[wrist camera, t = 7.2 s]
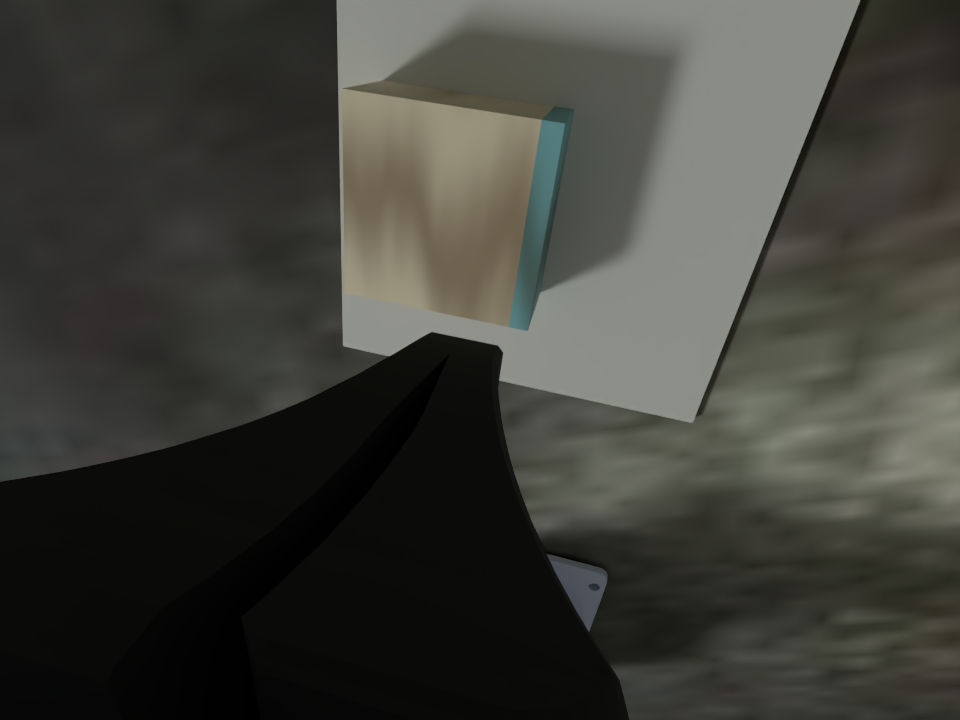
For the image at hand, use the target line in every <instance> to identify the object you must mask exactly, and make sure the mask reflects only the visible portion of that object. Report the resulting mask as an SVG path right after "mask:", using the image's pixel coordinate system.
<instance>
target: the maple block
mask: <svg viewBox="0 0 960 720" xmlns="http://www.w3.org/2000/svg"><path fill="white" fill-rule="evenodd" d="M573 114H574V109H567V108H561V107H554V106H548V105H541V104H535V103H528V102H522V101H515V100H509V99H502V98H496V97H489V96H483V95H476V94H469V93H463V92H456V91H450V90H443V89H437V88H430V87H424V86H417V85H411V84H404V83H398V82H391V81H385V80H382V81H377V82H372V83H367V84H362V85H357V86H352V87H347V88H342V129H343V194H344V259H345V293H346V294H351V295H356V296H361V297H366V298H370V299H375V300H380V301H385V302H390V303H395V304H399V305H404V306H409V307H414V308H419V309H424V310H428V311H433V312H438V313H443V314H448V315H453V316H457V317H462V318H467V319H472V320H477V321H482V322H486V323H491V324H496V325H501V326H506V327H511V328H515V329H520V330H525V331H528V329H529V326H530V323H531V319H532V316H533V313H534V310H535V307H536V304H537V301H538V298H539V295H540V291H541V286H542V281H543V275H544V270H545V265H546V259H547V254H548V248H549V243H550V238H551V232H552V227H553V222H554V216H555V211H556V206H557V200H558V195H559V189H560V184H561V179H562V173H563V168H564V163H565V157H566V152H567V146H568V141H569V136H570V130H571V125H572V120H573Z"/></svg>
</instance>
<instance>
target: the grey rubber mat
mask: <svg viewBox="0 0 960 720" xmlns="http://www.w3.org/2000/svg"><path fill="white" fill-rule="evenodd" d="M859 3H860V0H337V38H338V93H339V148H340V203H341V258H342V312H343V346H345V347H349V348H354V349H359V350H363V351H368V352H372V353H377V354H381V355H386V356H391V355H393V354H394V353H396V352H398V351H399V350H401V349H403V348H404V347H406V346H408V345H409V344H411V343H413V342H414V341H416V340H418V339H420V338H421V337H423V336H425V335H427V334H429V333H431V332H435V333H439V334H444V335H449V336H454V337H459V338H464V339H469V340H474V341H478V342H483V343H488V344H493V345H498V346H499V347H500V349H501V350H502V352H503V358H502V365H501V371H500V378H499V381H504V382H508V383H513V384H518V385H522V386H527V387H531V388H536V389H540V390H545V391H549V392H554V393H558V394H563V395H567V396H572V397H577V398H581V399H586V400H590V401H595V402H599V403H604V404H608V405H613V406H617V407H622V408H627V409H631V410H636V411H640V412H645V413H649V414H654V415H658V416H663V417H667V418H672V419H676V420H681V421H686V422H690V423H693V421H694V418H695V416H696V413H697V411H698V408H699V406H700V403H701V401H702V398H703V396H704V393H705V391H706V388H707V386H708V383H709V381H710V378H711V376H712V373H713V370H714V368H715V365H716V363H717V360H718V358H719V355H720V353H721V350H722V348H723V345H724V343H725V340H726V338H727V335H728V333H729V330H730V328H731V325H732V323H733V320H734V318H735V315H736V313H737V310H738V308H739V305H740V302H741V300H742V297H743V295H744V292H745V290H746V287H747V285H748V282H749V280H750V277H751V275H752V272H753V270H754V267H755V265H756V262H757V260H758V257H759V255H760V252H761V250H762V247H763V245H764V242H765V239H766V237H767V234H768V232H769V229H770V227H771V224H772V222H773V219H774V217H775V214H776V212H777V209H778V207H779V204H780V202H781V199H782V197H783V194H784V192H785V189H786V187H787V184H788V182H789V179H790V176H791V174H792V171H793V169H794V166H795V164H796V161H797V159H798V156H799V154H800V151H801V149H802V146H803V144H804V141H805V139H806V136H807V134H808V131H809V129H810V126H811V124H812V121H813V119H814V116H815V114H816V111H817V108H818V106H819V103H820V101H821V98H822V96H823V93H824V91H825V88H826V86H827V83H828V81H829V78H830V76H831V73H832V71H833V68H834V66H835V63H836V61H837V58H838V56H839V53H840V51H841V48H842V45H843V43H844V40H845V38H846V35H847V33H848V30H849V28H850V25H851V23H852V20H853V18H854V15H855V13H856V10H857V8H858V5H859ZM382 80H385V81H391V82H398V83H404V84H411V85H417V86H424V87H430V88H437V89H443V90H450V91H456V92H463V93H469V94H476V95H483V96H489V97H496V98H502V99H509V100H515V101H522V102H528V103H535V104H541V105H548V106H554V107H561V108H567V109H574V114H573V120H572V125H571V130H570V136H569V141H568V146H567V152H566V157H565V163H564V168H563V173H562V179H561V184H560V189H559V195H558V200H557V206H556V211H555V216H554V222H553V227H552V232H551V238H550V243H549V248H548V254H547V259H546V265H545V270H544V275H543V281H542V286H541V291H540V295H539V298H538V301H537V304H536V307H535V310H534V313H533V316H532V319H531V323H530V326H529V329H528V331H525V330H520V329H515V328H511V327H506V326H501V325H496V324H491V323H486V322H482V321H477V320H472V319H467V318H462V317H457V316H453V315H448V314H443V313H438V312H433V311H428V310H424V309H419V308H414V307H409V306H404V305H399V304H395V303H390V302H385V301H380V300H375V299H370V298H366V297H361V296H356V295H351V294H346V293H345V259H344V194H343V129H342V88H347V87H352V86H357V85H362V84H367V83H372V82H377V81H382Z"/></svg>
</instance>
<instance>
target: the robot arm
mask: <svg viewBox="0 0 960 720" xmlns="http://www.w3.org/2000/svg"><path fill="white" fill-rule="evenodd" d="M502 358H503V352H502V350H501V349H500V347H499V346H498V345H493V344H488V343H483V342H478V341H474V340H469V339H464V338H459V337H454V336H449V335H444V334H439V333H435V332H431V333H429V334H427V335H425V336H423V337H421V338H420V339H418V340H416V341H414V342H413V343H411V344H409V345H408V346H406V347H404V348H403V349H401V350H399V351H398V352H396V353H394V354H393V355H391V356H389V357H387V358H386V359H384V360H382V361H380V362H379V363H377V364H375V365H373V366H372V367H370V368H368V369H366V370H365V371H363V372H361V373H359V374H357V375H355V376H353V377H351V378H349V379H347V380H345V381H343V382H341V383H339V384H337V385H335V386H333V387H331V388H329V389H327V390H325V391H323V392H321V393H319V394H317V395H315V396H313V397H311V398H309V399H307V400H305V401H302V402H300V403H298V404H295V405H293V406H291V407H288V408H286V409H284V410H281V411H278V412H276V413H273V414H271V415H268V416H265V417H263V418H260V419H258V420H255V421H252V422H250V423H247V424H244V425H241V426H238V427H235V428H232V429H228V430H225V431H222V432H219V433H215V434H212V435H209V436H206V437H202V438H199V439H196V440H193V441H189V442H186V443H183V444H180V445H176V446H173V447H169V448H165V449H161V450H157V451H153V452H149V453H145V454H141V455H137V456H133V457H129V458H124V459H120V460H115V461H111V462H106V463H102V464H97V465H92V466H88V467H83V468H78V469H73V470H68V471H63V472H57V473H51V474H45V475H39V476H33V477H27V478H21V479H15V480H9V481H3V482H0V720H629V717H628V713H627V708H626V704H625V700H624V696H623V692H622V688H621V685H620V681H619V679H618V677H617V675H616V674H615V672H614V671H613V669H612V668H611V666H610V664H609V663H608V661H607V660H606V658H605V657H604V655H603V653H602V652H601V650H600V649H599V647H598V646H597V644H596V643H595V641H594V639H593V638H592V636H591V634H590V633H589V631H590V628H591V626H592V623H593V620H594V617H595V615H596V612H597V609H598V607H599V604H600V601H601V598H602V596H603V593H604V590H605V587H606V585H607V577H608V574H607V572H606V571H605V570H604V569H602V568H600V567H596V566H592V565H588V564H584V563H581V562H577V561H573V560H569V559H565V558H561V557H557V556H553V555H550V554H547V553H546V551H545V549H544V547H543V545H542V543H541V540H540V538H539V536H538V534H537V532H536V530H535V528H534V525H533V523H532V521H531V519H530V516H529V513H528V511H527V508H526V506H525V503H524V500H523V498H522V495H521V492H520V489H519V486H518V483H517V480H516V477H515V474H514V471H513V467H512V464H511V460H510V456H509V453H508V449H507V444H506V440H505V435H504V431H503V425H502V419H501V412H500V404H499V396H498V385H499V378H500V371H501V365H502ZM592 583H593V584H592Z"/></svg>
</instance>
